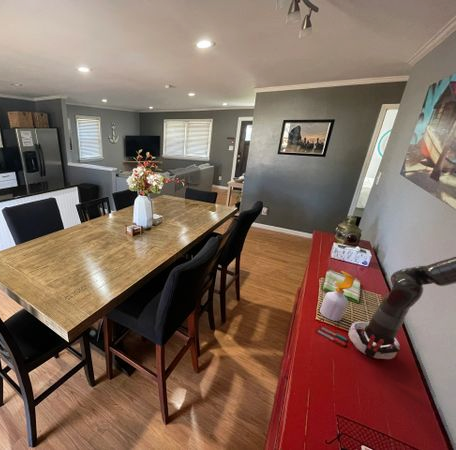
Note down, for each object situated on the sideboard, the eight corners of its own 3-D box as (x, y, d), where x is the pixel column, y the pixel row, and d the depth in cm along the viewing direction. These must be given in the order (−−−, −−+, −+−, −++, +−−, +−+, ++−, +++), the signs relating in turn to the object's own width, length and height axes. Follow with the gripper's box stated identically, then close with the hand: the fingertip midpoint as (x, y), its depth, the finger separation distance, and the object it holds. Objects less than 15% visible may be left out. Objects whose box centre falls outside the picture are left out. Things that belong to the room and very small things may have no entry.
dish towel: (359, 284, 143) (362, 279, 142) (359, 304, 126) (362, 298, 125) (326, 273, 153) (327, 268, 152) (321, 290, 136) (323, 285, 135)
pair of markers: (344, 344, 102) (345, 342, 102) (344, 346, 101) (344, 345, 101) (318, 330, 109) (319, 328, 108) (317, 332, 108) (317, 330, 107)
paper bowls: (338, 331, 109) (344, 318, 106) (376, 337, 106) (383, 323, 103) (358, 361, 95) (365, 346, 92) (402, 368, 92) (411, 354, 89)
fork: (346, 340, 104) (347, 338, 104) (345, 342, 103) (346, 340, 103) (322, 327, 111) (322, 325, 110) (321, 329, 110) (321, 327, 109)
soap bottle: (315, 308, 122) (330, 267, 112) (331, 307, 123) (347, 267, 114) (328, 322, 114) (346, 279, 104) (346, 320, 115) (364, 278, 105)
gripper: (412, 327, 85) (392, 361, 91) (365, 306, 94) (350, 339, 100) (410, 338, 80) (389, 373, 87) (361, 315, 89) (345, 349, 96)
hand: (368, 355), depth 93 cm, fingers closed
